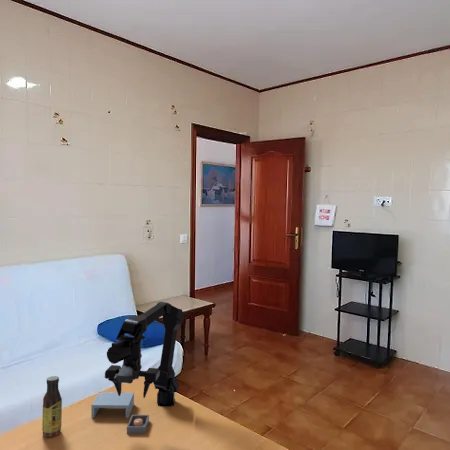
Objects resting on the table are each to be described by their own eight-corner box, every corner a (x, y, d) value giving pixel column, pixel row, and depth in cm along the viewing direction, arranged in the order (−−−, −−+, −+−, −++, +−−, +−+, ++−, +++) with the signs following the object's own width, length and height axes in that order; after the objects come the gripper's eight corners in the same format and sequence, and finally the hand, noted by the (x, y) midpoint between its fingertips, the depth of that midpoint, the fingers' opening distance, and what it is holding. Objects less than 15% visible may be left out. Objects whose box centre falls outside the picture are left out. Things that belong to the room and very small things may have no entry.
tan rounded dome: (143, 424, 143) (143, 418, 143) (141, 429, 140) (141, 423, 140) (134, 424, 143) (134, 418, 143) (132, 429, 140) (132, 423, 140)
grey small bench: (133, 405, 157) (134, 392, 157) (128, 419, 147) (128, 405, 147) (99, 405, 157) (99, 392, 157) (91, 419, 147) (91, 405, 147)
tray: (149, 422, 145) (149, 414, 145) (145, 435, 137) (145, 427, 137) (131, 422, 145) (131, 414, 145) (126, 435, 137) (126, 427, 137)
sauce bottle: (54, 439, 134) (54, 383, 133) (38, 437, 135) (38, 381, 134) (65, 428, 140) (65, 375, 139) (50, 426, 142) (50, 373, 140)
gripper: (98, 360, 132) (97, 405, 133) (151, 364, 130) (150, 410, 131) (111, 349, 143) (110, 390, 144) (160, 352, 141) (159, 394, 142)
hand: (132, 396), depth 140 cm, fingers open, 9 cm apart
